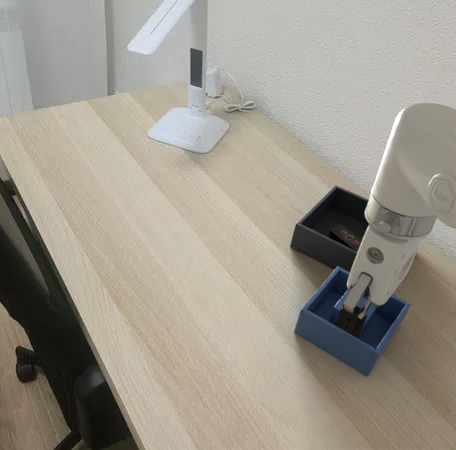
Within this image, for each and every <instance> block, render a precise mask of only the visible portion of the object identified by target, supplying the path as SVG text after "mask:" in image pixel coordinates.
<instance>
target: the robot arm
mask: <svg viewBox="0 0 456 450" xmlns="http://www.w3.org/2000/svg"><path fill="white" fill-rule="evenodd" d="M384 149H385V150H384V152H383V155H382V159H381V162H380V164H379V168H378V170H377V174H376V177H375V180H374V183H373V185H372V188H371V190H370V191H371V192H370V194H369V197H368V203H367V207H366V209H365V218H366V220H367V221H368V223H369V226H368V228H367V230H366V233H365V235H364V237H363V239H362V242H361V245H360V247H359V250H358V252H357V255H356V258H355V260H354V263H353V266H352V269H351V271H350V274H349V278H348V282H347V287H348V289H349V290H350V292H349V294H348V296H347V297H346V299H345V301H344V303H343V305H342V307H341V310H340V313H339V316H338V319H337V322H336V326H337V327H339V328H340V329H342V330H344V331H346V332H347V333H349V334H351V335H353V336H354V337H359V335H360V334H361V331H362V329H363V326H364V324H365V321H366V319H367V316H368V315H366V312H367V310H368V309H369V307H370V305H371V303H372V302H373V303H375V304H377V305H378V306H379V305H383V304H385V303H386V301H387V300H388V299H389V298H390V296H391V295H394V293H395V292H396V290H397V289H398V287H399V286H400V285H401V283H402V282H403V280H404V279H405V278H406V276H407V275H408V273H409V271H410V269H411V268H412V266H413V263H414V260H415V257H416V255H417V251H418V250H419V246H420V245H421V241H422V240H423V239H425V238H426V237H428V236H429V235H430V234H431V233H432V231H433V228H434V226H435V224H436V222H437V219H438V220H439V221H440V222H441V223H442V224H444V225H446V226H447V227H450V228H452V229H455V230H456V108H453V107H451V106H448V105H445V104H440V103H435V102H418V103H413V104H409V105H407V106H406V107H404V108H403V109H402V110H401V111H400V112H399V113H398V114H397V116H396V118H395V120H394V123H393V125H392V129H391V131H390V134H389V138H388V140H387V143H386V147H385V148H384ZM367 288H368V289H369V290H370V294H368V293H366V290H367ZM362 297H364V298H366V299H367V300H366V302H365V304H364V306H363V308H362V309H361V308H360V307H358V304H359V301H360V300H361V298H362Z"/></svg>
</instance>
